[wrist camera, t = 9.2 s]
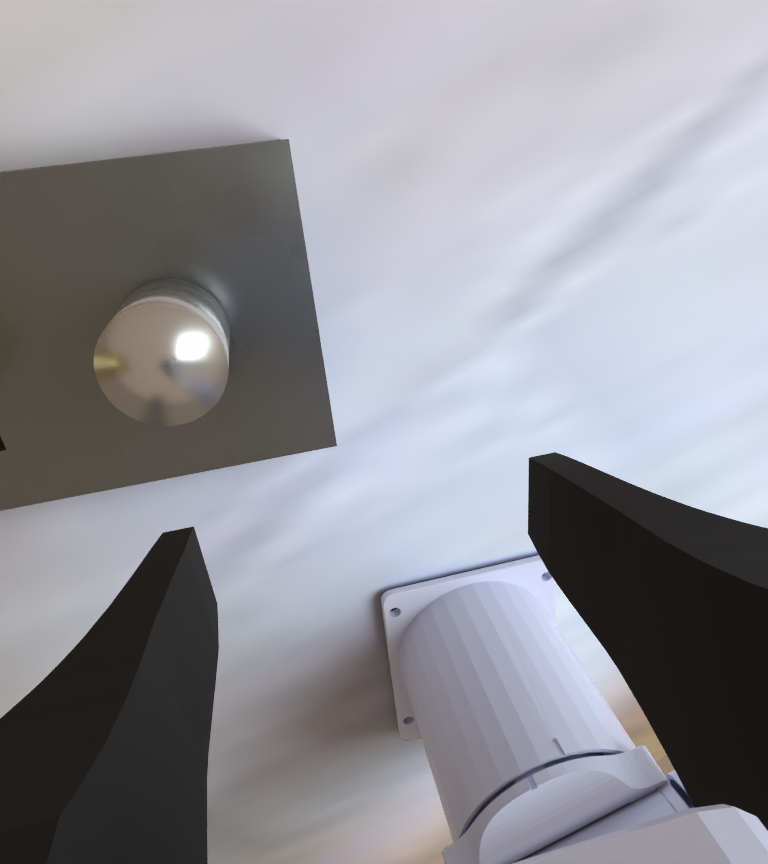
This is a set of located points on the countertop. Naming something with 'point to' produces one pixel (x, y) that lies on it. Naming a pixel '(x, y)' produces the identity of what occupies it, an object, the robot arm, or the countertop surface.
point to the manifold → (154, 321)
